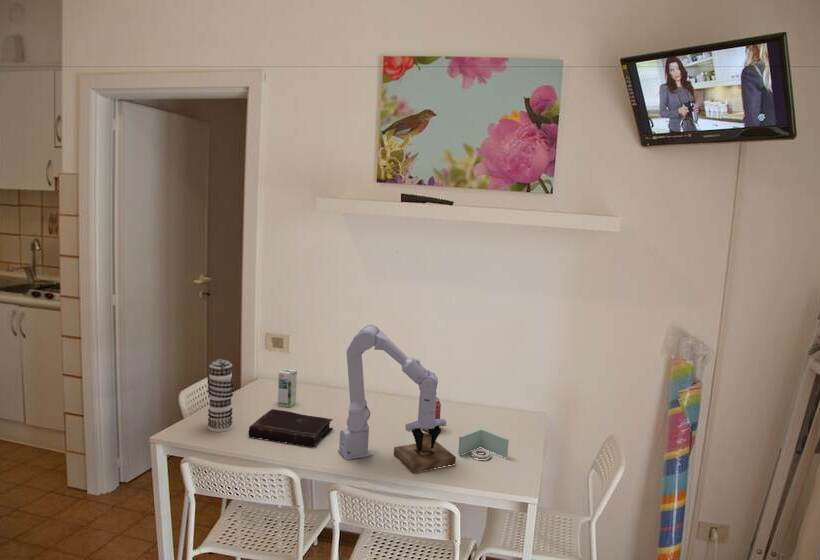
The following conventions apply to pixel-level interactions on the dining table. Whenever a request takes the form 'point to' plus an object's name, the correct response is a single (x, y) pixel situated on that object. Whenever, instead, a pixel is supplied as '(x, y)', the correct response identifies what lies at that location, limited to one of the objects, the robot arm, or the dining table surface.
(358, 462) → the dining table surface
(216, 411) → the decorative candle
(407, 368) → the robot arm
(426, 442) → the peg
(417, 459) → the board
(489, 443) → the l-shaped corner panel
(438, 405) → the soda can
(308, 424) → the diary
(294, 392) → the syrup box
